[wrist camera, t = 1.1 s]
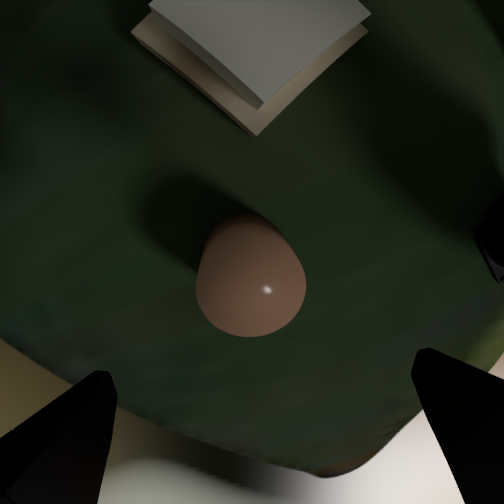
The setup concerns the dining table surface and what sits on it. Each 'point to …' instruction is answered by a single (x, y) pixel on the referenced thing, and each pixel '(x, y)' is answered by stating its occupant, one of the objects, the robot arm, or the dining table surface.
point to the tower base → (221, 90)
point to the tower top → (258, 37)
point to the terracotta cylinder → (249, 277)
